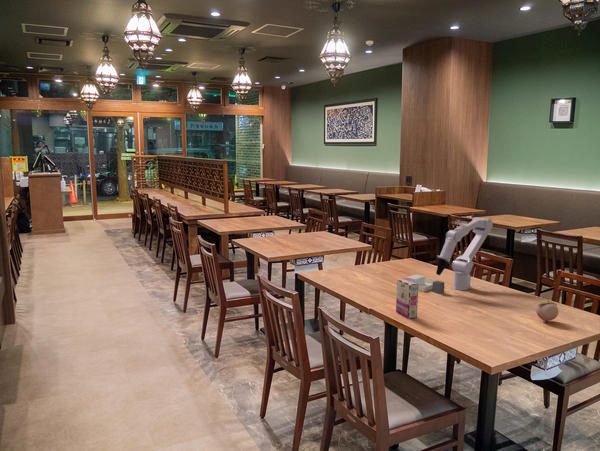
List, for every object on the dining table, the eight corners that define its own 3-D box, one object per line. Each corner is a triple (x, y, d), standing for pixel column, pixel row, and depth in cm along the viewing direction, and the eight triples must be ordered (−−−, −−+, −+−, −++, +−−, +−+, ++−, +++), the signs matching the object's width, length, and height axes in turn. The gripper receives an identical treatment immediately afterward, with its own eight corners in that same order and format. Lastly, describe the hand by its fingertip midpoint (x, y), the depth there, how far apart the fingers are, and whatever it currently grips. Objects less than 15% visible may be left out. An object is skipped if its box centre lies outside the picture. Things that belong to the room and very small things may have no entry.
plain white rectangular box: (415, 281, 282) (416, 274, 282) (424, 284, 278) (425, 276, 277) (406, 285, 276) (406, 277, 275) (414, 287, 271) (415, 279, 270)
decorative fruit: (545, 326, 213) (547, 304, 212) (531, 319, 221) (533, 298, 219) (562, 324, 216) (564, 302, 214) (548, 318, 224) (550, 297, 222)
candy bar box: (417, 318, 223) (419, 283, 221) (408, 319, 221) (409, 284, 219) (404, 310, 233) (405, 277, 231) (395, 311, 232) (396, 278, 229)
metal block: (436, 291, 266) (437, 280, 265) (443, 292, 263) (444, 282, 262) (432, 292, 263) (432, 282, 262) (439, 294, 260) (440, 283, 259)
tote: (417, 281, 286) (417, 276, 286) (441, 286, 275) (441, 281, 274) (399, 286, 274) (399, 281, 274) (424, 292, 262) (424, 287, 262)
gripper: (439, 250, 269) (430, 272, 267) (441, 245, 255) (431, 268, 253) (452, 255, 267) (443, 277, 265) (454, 250, 253) (444, 273, 251)
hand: (438, 273), depth 259 cm, fingers open, 7 cm apart
